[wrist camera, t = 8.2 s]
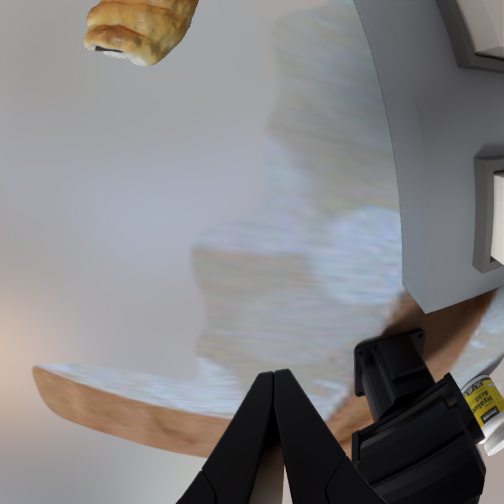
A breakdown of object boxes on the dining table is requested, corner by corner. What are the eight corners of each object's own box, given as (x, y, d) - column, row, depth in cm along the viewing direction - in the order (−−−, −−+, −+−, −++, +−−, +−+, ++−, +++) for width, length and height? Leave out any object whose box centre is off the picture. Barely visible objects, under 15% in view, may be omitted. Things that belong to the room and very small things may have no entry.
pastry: (148, -48, 11) (130, -72, 7) (234, -36, 12) (229, -66, 8) (89, 56, 14) (58, 46, 11) (171, 75, 15) (150, 62, 12)
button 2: (515, 63, 9) (546, 61, 6) (467, 53, 10) (500, 46, 7) (492, -3, 7) (518, -13, 4) (439, -20, 8) (465, -36, 5)
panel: (520, 246, 18) (555, 270, 13) (402, 284, 20) (433, 324, 15) (481, -14, 9) (516, -28, 4) (335, -40, 11) (355, -79, 6)
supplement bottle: (478, 369, 24) (514, 428, 15) (493, 377, 25) (526, 428, 16) (447, 400, 26) (476, 461, 17) (465, 405, 27) (492, 458, 18)
